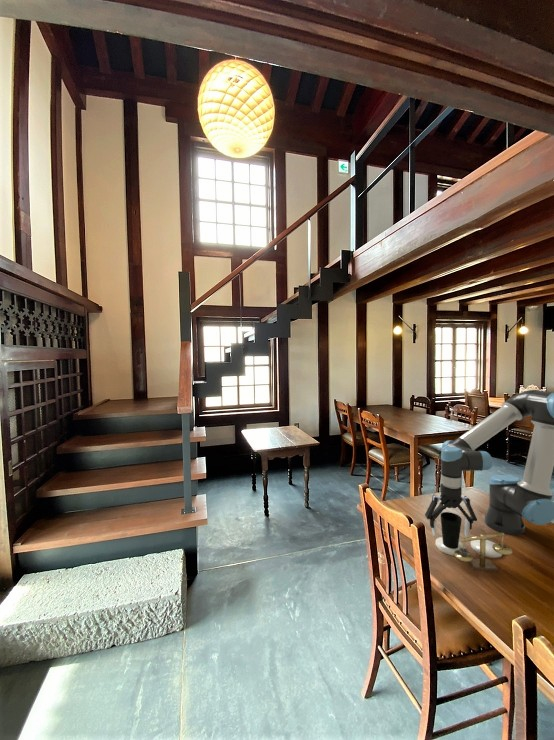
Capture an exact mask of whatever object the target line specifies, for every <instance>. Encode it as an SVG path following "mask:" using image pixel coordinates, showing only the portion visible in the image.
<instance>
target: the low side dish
mask: <svg viewBox="0 0 554 740" xmlns="http://www.w3.org/2000/svg"><path fill="white" fill-rule="evenodd" d="M435 548H437V550H439V551H440V552H441V553H443V554H446V555H449V556H451V557H455V555H454V552H455V551H457V550H459V548H463V542H461V541H460V540H459V544H458V548H456V549H451V548H448V547H446V546H444V544H443V538H442V536H440V537H436V539H435ZM464 549H466V550H467V548H466V546H465V545H464Z"/></svg>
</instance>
